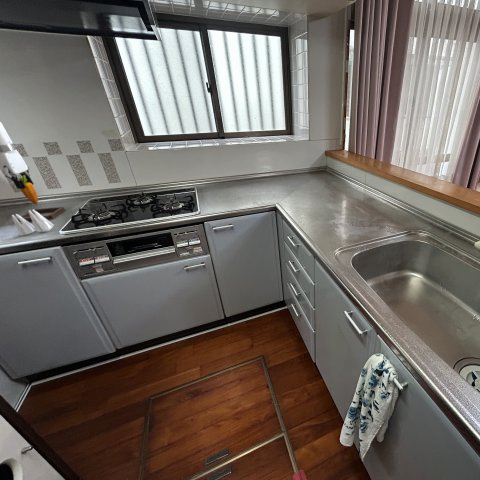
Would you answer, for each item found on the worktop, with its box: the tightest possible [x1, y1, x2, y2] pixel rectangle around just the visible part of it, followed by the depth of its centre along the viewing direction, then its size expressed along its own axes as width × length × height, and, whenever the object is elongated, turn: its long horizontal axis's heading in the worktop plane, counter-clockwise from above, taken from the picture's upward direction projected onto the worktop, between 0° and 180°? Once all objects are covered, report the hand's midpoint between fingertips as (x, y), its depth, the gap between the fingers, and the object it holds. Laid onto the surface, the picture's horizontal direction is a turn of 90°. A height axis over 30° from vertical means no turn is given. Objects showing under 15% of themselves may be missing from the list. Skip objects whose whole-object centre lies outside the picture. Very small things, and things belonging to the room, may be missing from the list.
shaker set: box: [11, 209, 55, 237], centre depth 122 cm, size 12×4×11 cm, turn 107°
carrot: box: [19, 175, 39, 206], centre depth 133 cm, size 5×5×15 cm
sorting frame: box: [16, 206, 66, 223], centre depth 139 cm, size 14×12×2 cm
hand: (25, 186), depth 132 cm, fingers closed on carrot, 5 cm apart
